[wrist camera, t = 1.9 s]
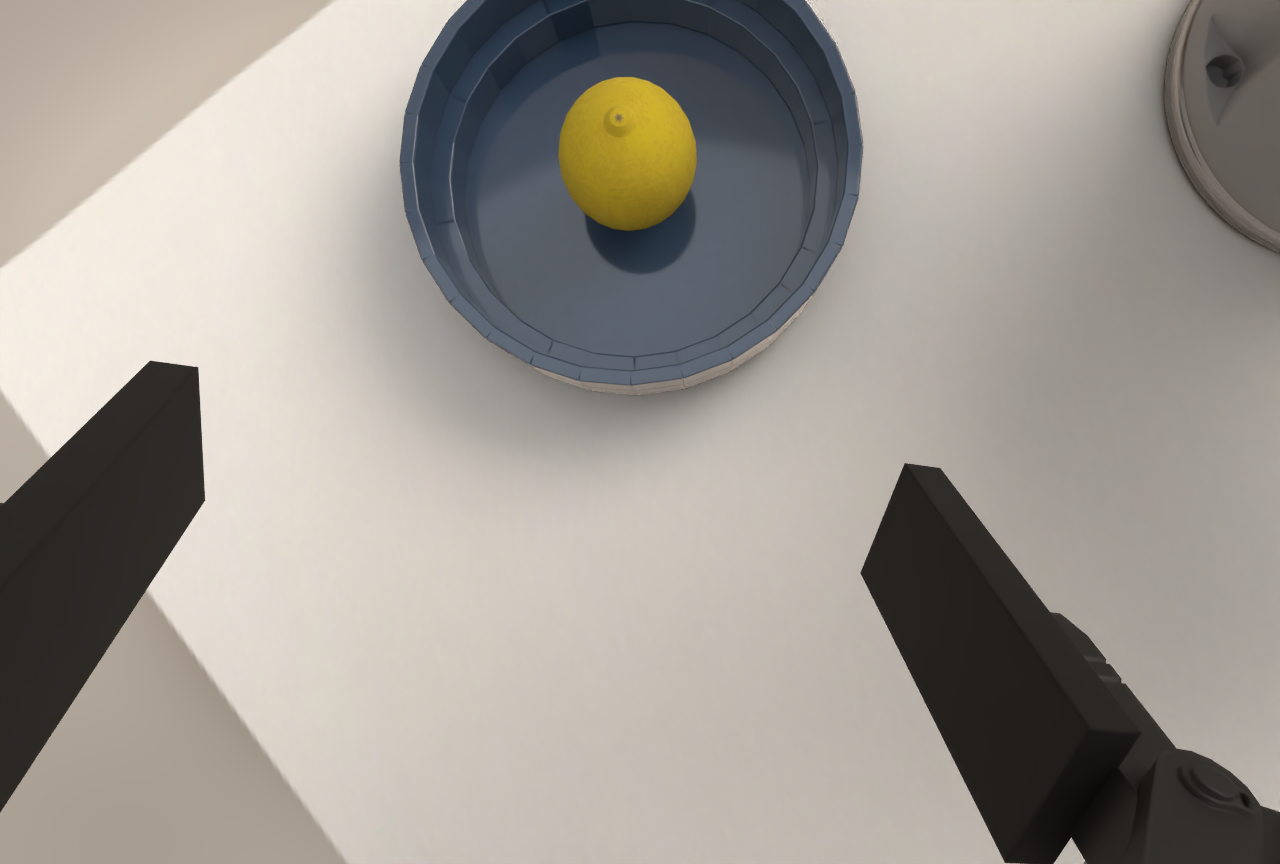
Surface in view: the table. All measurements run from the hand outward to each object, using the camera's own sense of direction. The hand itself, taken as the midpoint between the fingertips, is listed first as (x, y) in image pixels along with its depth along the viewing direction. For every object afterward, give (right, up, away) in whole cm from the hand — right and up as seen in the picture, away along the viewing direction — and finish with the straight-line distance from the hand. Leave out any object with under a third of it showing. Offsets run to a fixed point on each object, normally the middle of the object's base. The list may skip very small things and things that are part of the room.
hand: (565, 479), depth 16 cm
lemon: (+1, +12, +22) cm, 25 cm away
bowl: (+1, +12, +22) cm, 25 cm away
